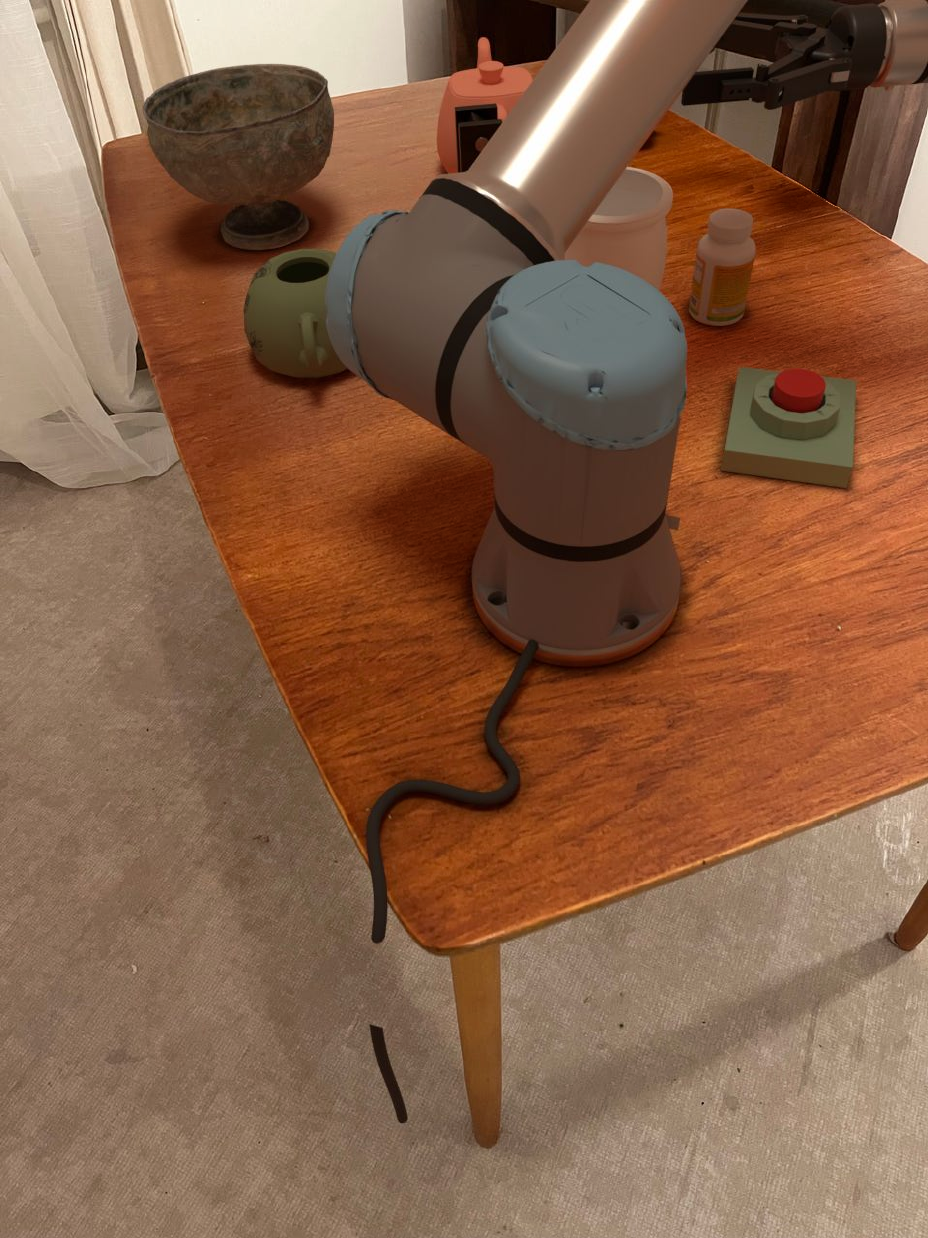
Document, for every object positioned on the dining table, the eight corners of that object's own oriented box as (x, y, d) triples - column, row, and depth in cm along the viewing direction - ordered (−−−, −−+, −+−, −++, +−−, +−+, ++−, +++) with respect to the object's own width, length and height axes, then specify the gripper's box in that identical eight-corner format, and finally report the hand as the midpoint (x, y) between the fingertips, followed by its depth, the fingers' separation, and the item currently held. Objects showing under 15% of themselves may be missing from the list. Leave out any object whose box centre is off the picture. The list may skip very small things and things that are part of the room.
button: (820, 417, 80) (825, 399, 78) (769, 410, 80) (773, 393, 79) (822, 388, 82) (827, 371, 81) (773, 382, 83) (777, 365, 82)
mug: (251, 320, 100) (232, 239, 93) (377, 306, 100) (367, 225, 94) (249, 415, 89) (228, 331, 83) (390, 398, 90) (380, 314, 83)
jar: (651, 382, 90) (669, 224, 79) (539, 373, 92) (541, 217, 80) (659, 319, 97) (677, 166, 85) (555, 312, 98) (559, 160, 87)
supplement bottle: (754, 310, 97) (773, 215, 90) (724, 334, 94) (740, 237, 87) (708, 292, 100) (722, 198, 92) (677, 315, 97) (689, 220, 90)
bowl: (327, 177, 121) (307, 43, 110) (366, 249, 109) (348, 106, 97) (167, 207, 117) (129, 72, 106) (189, 285, 105) (149, 141, 94)
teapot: (535, 131, 127) (536, 26, 118) (558, 201, 114) (562, 90, 105) (432, 139, 127) (426, 35, 118) (444, 211, 114) (437, 100, 104)
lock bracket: (529, 210, 113) (529, 92, 103) (541, 248, 107) (543, 126, 97) (425, 220, 112) (416, 102, 103) (432, 259, 106) (423, 137, 97)
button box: (846, 488, 79) (859, 449, 76) (720, 470, 81) (728, 431, 78) (850, 401, 87) (861, 362, 84) (734, 386, 89) (742, 348, 86)
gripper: (912, 135, 94) (693, 154, 93) (821, 44, 110) (635, 59, 109) (937, 48, 88) (705, 68, 87) (837, -34, 105) (641, -18, 104)
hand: (665, 63), depth 98 cm, fingers open, 13 cm apart
